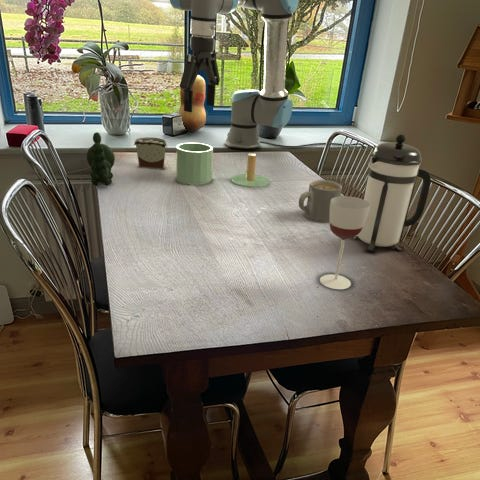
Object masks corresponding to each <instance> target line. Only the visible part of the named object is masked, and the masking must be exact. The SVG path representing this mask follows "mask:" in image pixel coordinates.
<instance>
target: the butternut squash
mask: <svg viewBox="0 0 480 480" xmlns="http://www.w3.org/2000/svg"><path fill="white" fill-rule="evenodd" d="M206 88H207V87H206V80H205V79H204V77H203V76H201V75H200V74H198V75H197V77H196V80H195V82H194V84H193V87H192V89H191V90H192V91H193V103H192V112H187V111H184V89H181V88H180V87H179V96H180V99H179V100H180V107H179V109H178V113H177V115H178V114H181V115H182V121H183V125H184V127H185V129H186V130H185V132H198V131H200V130H201V129H202V128H204V126H205V124H206V122H207V114H206V109H205V105H204V104H205V101H206Z"/></svg>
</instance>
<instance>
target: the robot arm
mask: <svg viewBox="0 0 480 480" xmlns="http://www.w3.org/2000/svg"><path fill="white" fill-rule="evenodd" d="M299 2H300V0H169V3H170V6H171V7H172V8H173V9H175V10H179V11H188V12H191V16H190V34H191V36H190V38H189V39H190V42H189V46H190V47H189V48H190V50H191V51H192V54H186V58H185V65H184V68H183V72H182V76H181V79H180V84H179V89H180V88H181V89H184V111H187V112H192V103H193V91H192V90H191V89H192V87H193V84H194V82H195V80H196V77H197V75H199V73H201V72H202V71H203V70H204V74H205V76H206V79H207V82H208V84H207V87H206V88H207V91H206V106H210V107H215V103H216V88H217V87H216V86H219V85H220V82H221V77H220V73H219V66H218V61H217V52H214V51H215V42H216V41H215V35H216V19H217V15H218V14H219V15H222V14H223V15H228V14H231V13H234V12H235V11H236V10H237V8H244V9H249V10H255V11H261V16H260V17H261V19H262V20H263V21H264V62H263V63H264V64H263V65H264V66H263V70H264V71H263V73H264V74H263V89H261V91H260V90H259V89H243V90H242V89H241V90H237V91H234V92H233V93H232V98H231V115H230V119H231V120H230V128H229V131H228V132H227V135H226V136H227V137H226V140H225V146H226V147H228V148H231V149H235V150H242V151H243V150H244V151H250V150H251V151H252V150H257V149H259V148H260V146H261V145H260V144H265V145H269V146H274V147H281V148H303V147H309V146H320V145H327V144H326V143H327V142H315V143H308V144H307V143H306V144H300V145H283V144H276V143H271V142H267V141H261V140H260V138H259V132H258V125H261V126H267V127H272V128H279V129H282V128H284V127H285V126H287V125H288V123H289V122H290V119H291V116H292V113H293V107H294V103H293V100H292V99H291V98H289V92H288V91H287V89H286V86H285V85H286V65H287V48H288V45H287V44H288V24H289V22H290V20H291V19H293V14H294V13H295V12H296V11H297V9H298V7H299ZM330 143H331V144H330V145H335V146H344V147H345V146H346V147H352V146H361V147H362V148H366V146H365V145H364V144H363V145H364V146H363V145H362V143H359V142H357V143H344V144H345V145H342V144H343V143H339V142H330ZM350 144H351V146H349V145H350Z"/></svg>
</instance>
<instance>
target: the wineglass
mask: <svg viewBox="0 0 480 480" xmlns="http://www.w3.org/2000/svg"><path fill="white" fill-rule="evenodd" d="M369 208H370V203H369V202H368V201H366V200H363V198H360V197H357V196H356V197H355V196H347V195H341V196H339V197H334V198H332V199H331V203H330V215H329V218H330V222H329V229H330V231H331V232H332V234H333V235H334V236H336V237H338V238H340V239H341V242H340V245H339V252H338V258H337V263H336V268H335V274H324V275H322V276H321V277H320V278H319V282H320V283H321V285H323V286H325V287H327V288H329V289H333V290H345V289H346V290H347V289H349V288H350V287H351V286H352V282H351V280H350V279H348V278H347V277H345V276H343V275H340V268H341V264H342V263H341V262H342V259H343V253H344V247H345V243H346V240H348V239H352V237H357V236H358V234H359V233H360V232H361V230H362V228H363V226H364V223H365V221H366V218H367V215H368V212H369Z"/></svg>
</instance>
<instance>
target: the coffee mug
mask: <svg viewBox="0 0 480 480" xmlns="http://www.w3.org/2000/svg"><path fill="white" fill-rule="evenodd" d="M342 191H343V185H342V184H341V183H338V182H336V181H332V180H326V179H316V180H312V181H310V182H309V186H308V191H304V192H302V193H301V194H300V196H299V198H298V207H299V209H300V210H301V211H303V212H305V217H306V218H307V219H309V220H311V221H315V222H318V223H319V222H320V223H330V218H329V215H330V203H331V199H332V198H334V197H339V196H342ZM306 199H307V200H306ZM305 200H306V205H305V204H304V203H305Z"/></svg>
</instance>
